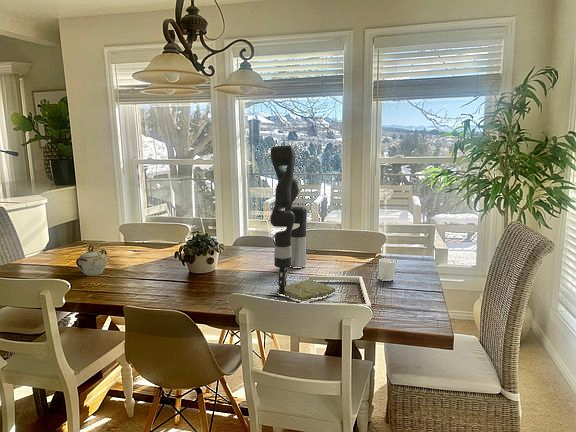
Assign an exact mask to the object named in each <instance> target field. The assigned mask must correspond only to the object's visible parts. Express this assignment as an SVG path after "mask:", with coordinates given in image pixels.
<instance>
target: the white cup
mask: <svg viewBox="0 0 576 432" xmlns="http://www.w3.org/2000/svg"><path fill="white" fill-rule="evenodd" d="M395 268H396V259H393V258H387V257H386V258H380V259H378V274H379V277H380V278H382V279H393V278H394V277H395V271H396V269H395ZM379 277H378V278H379ZM394 279H395V278H394ZM394 279H393V280H394Z"/></svg>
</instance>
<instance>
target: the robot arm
mask: <svg viewBox="0 0 576 432" xmlns="http://www.w3.org/2000/svg"><path fill="white" fill-rule="evenodd" d="M269 153H270V154H269V155H270V159H271V163H272V166H273V168H274V169H273V170H274V172H275V174H276V177H277V182H278V183H277V184H276V188H275V192H274V193H275V197H274V198H275V199H274V200H275V201H274V206H273V209H272V212H271V214H270V215H271V216H270V224H271V225H272V227H276V228H280V227H281V228H282V227H284V228H286V229H284V230H281V231H278V232H275V234H274V251H273V253H274V254H273V255H274V258H273V259H274V267H276V268H278V270H277V275H278V278H277V280H278V281H277V282H278V284H277V285H278V287H279V288H278V289H279V294H284V293H285V286H287V279H288V272H289V271H288V268H290V266H291V267H303V266H305V265H306V266H307V221H308V220H307V219H308V216H307V215H308V212H307V208H306V207H305V206H293V205H292V204H293V203H294V201H295V200H296V199H297V197H298V196H299V193H300V189H299V184H298V181H297V179H296V177H295V176H294V173H295V167H296V166H295V165H296V150H295V147H294V146H293V145H292V144H287V145H286V144H285V145H274V146H272V147H271V148H270V152H269ZM284 166H285V167H286V169H285V167H284ZM282 209H284V210H282ZM295 224H296V225H297V224H298V225H299V226H298V227H296V228H294V225H295Z"/></svg>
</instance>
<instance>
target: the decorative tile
mask: <svg viewBox="0 0 576 432" xmlns="http://www.w3.org/2000/svg"><path fill="white" fill-rule="evenodd" d="M335 291H336V288H335V287H332V286H330V285H326V283H320V282H316V281H313V280H309V279H306V280H301V281H297V282H294V283H291V284H286V286H285V293H284V294H283V295H285V296H289V297H292V298H294V299H298V300H301V301H307V300H308V299H311V298H317V297H323V296H326V295H327V294H328V295H329V294H331V293H333V292H335ZM277 293H279V288H277V289H276V294H277Z"/></svg>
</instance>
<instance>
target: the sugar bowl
mask: <svg viewBox="0 0 576 432" xmlns="http://www.w3.org/2000/svg"><path fill="white" fill-rule="evenodd" d="M107 255H108V252H107V250H106V249H101V250H99V251H97V250H95V247H94V246H93V245H89V246H88V247H87V251H86V252H84V253H81V254H80V255H79V257H77V259H76V261H75V264H76V266H77V268H78V270H80V271H81V272H82V273H83V274H84V275H85V276H88V277H91V276H92V277H93V276H98V275H101V274H102V273H103V272H104V270H105V269H106V267H107V265H108V263H109V257H108V256H107Z"/></svg>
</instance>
